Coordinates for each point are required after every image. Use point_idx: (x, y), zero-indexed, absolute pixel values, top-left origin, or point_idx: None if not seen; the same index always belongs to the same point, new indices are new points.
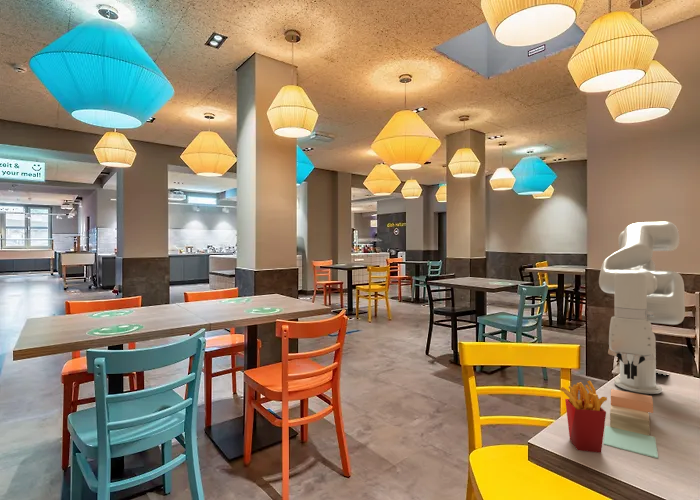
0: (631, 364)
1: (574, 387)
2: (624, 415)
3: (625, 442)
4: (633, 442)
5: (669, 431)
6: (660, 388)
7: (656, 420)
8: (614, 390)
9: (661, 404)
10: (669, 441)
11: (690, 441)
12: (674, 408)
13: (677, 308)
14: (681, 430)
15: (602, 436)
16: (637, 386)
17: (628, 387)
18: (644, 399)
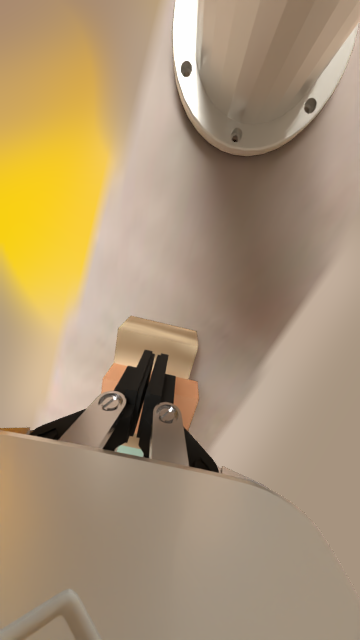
0: (144, 415)
1: None
2: (127, 445)
3: (129, 453)
4: (140, 451)
5: (208, 398)
6: (335, 81)
7: (204, 358)
8: (110, 387)
9: (261, 244)
10: (193, 430)
11: (225, 421)
12: (282, 265)
13: None
14: (231, 388)
15: None
16: (240, 117)
17: (205, 130)
18: None
